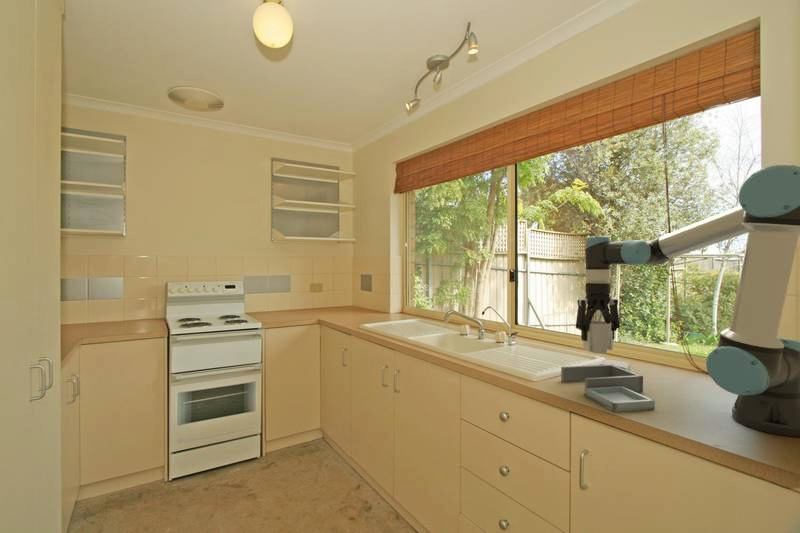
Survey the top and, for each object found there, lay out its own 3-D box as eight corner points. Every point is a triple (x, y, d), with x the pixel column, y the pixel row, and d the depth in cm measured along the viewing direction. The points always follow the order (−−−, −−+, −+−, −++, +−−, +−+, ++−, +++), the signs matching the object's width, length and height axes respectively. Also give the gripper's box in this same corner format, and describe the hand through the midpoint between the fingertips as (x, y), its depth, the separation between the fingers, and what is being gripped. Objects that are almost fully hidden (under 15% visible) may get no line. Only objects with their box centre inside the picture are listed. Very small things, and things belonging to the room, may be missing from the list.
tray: (654, 409, 112) (654, 400, 112) (614, 412, 110) (614, 403, 110) (621, 393, 125) (621, 386, 125) (584, 396, 123) (584, 388, 123)
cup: (589, 348, 137) (589, 319, 137) (614, 351, 132) (614, 322, 132) (580, 351, 132) (580, 322, 132) (606, 355, 126) (606, 324, 126)
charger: (632, 371, 151) (627, 381, 139) (605, 367, 156) (598, 376, 144) (632, 359, 151) (627, 367, 139) (605, 355, 156) (598, 363, 144)
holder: (642, 391, 127) (643, 376, 127) (587, 394, 124) (587, 379, 124) (611, 378, 141) (611, 364, 141) (561, 380, 138) (561, 366, 138)
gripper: (616, 281, 137) (616, 346, 137) (563, 282, 134) (563, 348, 134) (633, 282, 130) (633, 351, 130) (577, 283, 126) (577, 353, 126)
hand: (597, 349), depth 132 cm, fingers closed on cup, 8 cm apart
